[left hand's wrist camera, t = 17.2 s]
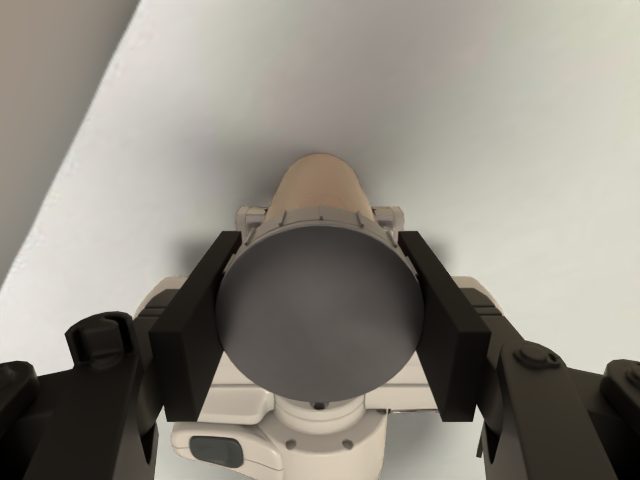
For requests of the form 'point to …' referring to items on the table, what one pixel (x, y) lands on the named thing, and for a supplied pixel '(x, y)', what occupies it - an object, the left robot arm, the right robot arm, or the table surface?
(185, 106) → the table surface
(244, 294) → the lid
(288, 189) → the jar
